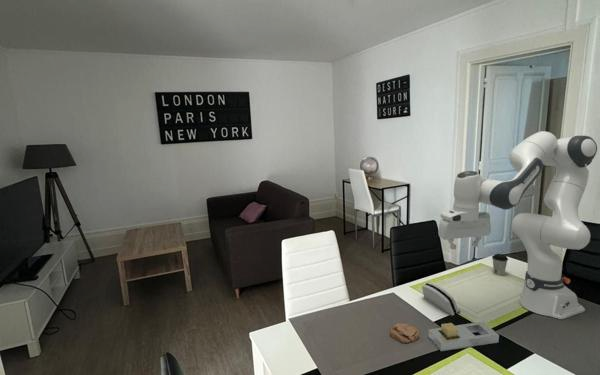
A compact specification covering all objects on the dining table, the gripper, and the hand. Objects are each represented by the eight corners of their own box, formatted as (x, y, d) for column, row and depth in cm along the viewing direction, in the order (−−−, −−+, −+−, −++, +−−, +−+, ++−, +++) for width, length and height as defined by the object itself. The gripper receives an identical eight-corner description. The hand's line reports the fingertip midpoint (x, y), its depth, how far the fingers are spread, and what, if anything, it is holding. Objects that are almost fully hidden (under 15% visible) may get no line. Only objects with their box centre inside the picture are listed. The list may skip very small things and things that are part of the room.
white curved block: (461, 312, 130) (456, 293, 128) (453, 319, 129) (447, 299, 126) (432, 294, 146) (427, 276, 143) (424, 299, 145) (418, 281, 142)
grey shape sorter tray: (482, 328, 120) (482, 321, 119) (498, 342, 112) (499, 334, 111) (428, 336, 117) (428, 329, 116) (441, 351, 109) (441, 343, 108)
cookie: (424, 341, 115) (424, 334, 114) (397, 346, 113) (397, 338, 113) (411, 325, 124) (411, 318, 124) (385, 329, 123) (385, 322, 122)
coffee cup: (494, 276, 159) (495, 258, 157) (488, 270, 166) (489, 252, 164) (509, 277, 158) (511, 258, 156) (503, 270, 165) (504, 252, 163)
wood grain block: (450, 337, 116) (451, 322, 115) (457, 344, 112) (458, 329, 111) (440, 338, 115) (441, 324, 114) (447, 346, 111) (447, 330, 110)
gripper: (484, 209, 126) (482, 242, 128) (436, 213, 123) (435, 247, 126) (496, 213, 120) (493, 247, 122) (446, 218, 117) (445, 253, 120)
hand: (463, 247), depth 124 cm, fingers open, 8 cm apart
